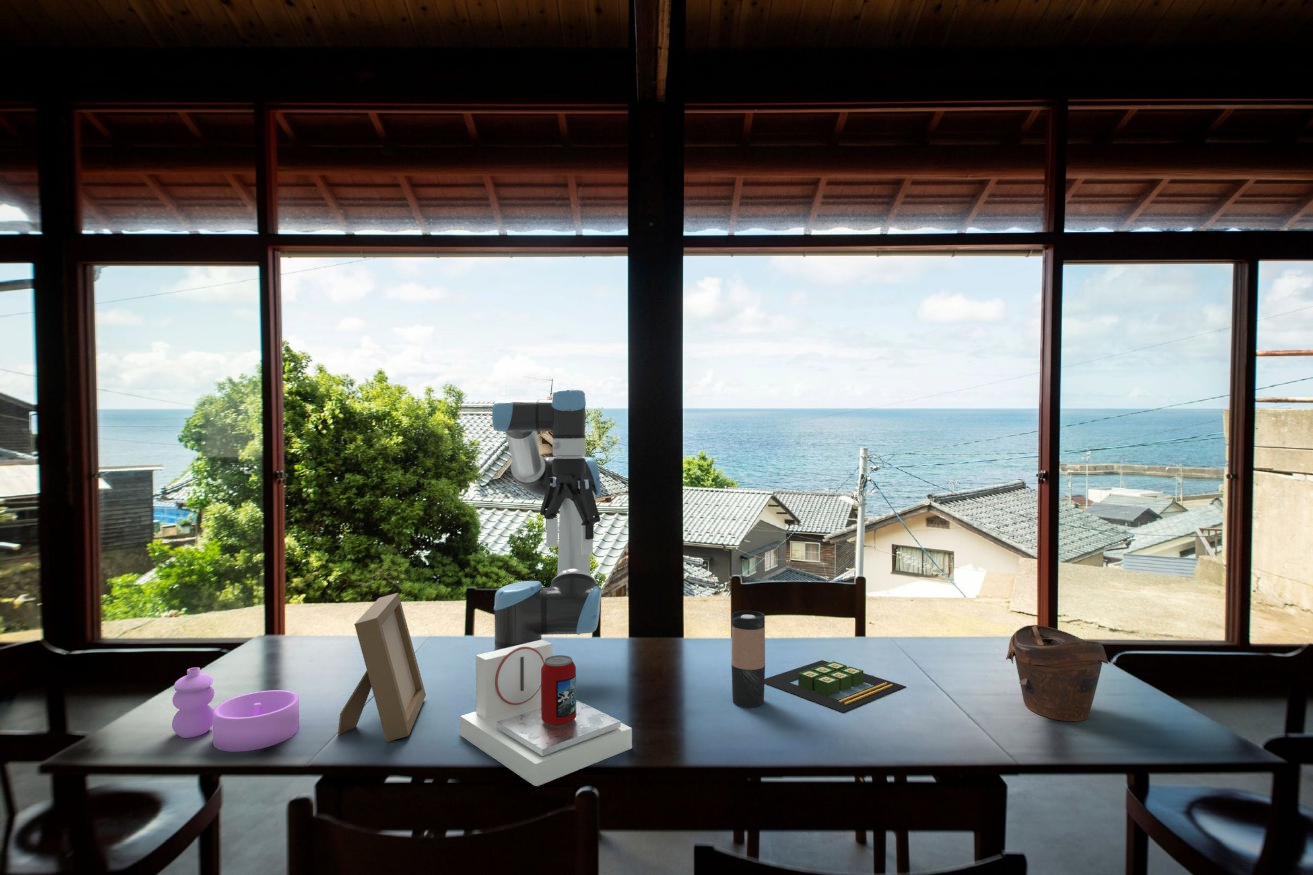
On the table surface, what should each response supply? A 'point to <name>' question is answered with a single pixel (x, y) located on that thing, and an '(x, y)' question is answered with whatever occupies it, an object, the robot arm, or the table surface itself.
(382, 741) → the table surface
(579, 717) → the weighing pan
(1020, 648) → the case
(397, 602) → the photo frame
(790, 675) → the sushi
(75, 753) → the table surface
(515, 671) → the scale
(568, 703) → the beverage can
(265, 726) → the container set
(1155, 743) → the table surface
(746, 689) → the travel mug
